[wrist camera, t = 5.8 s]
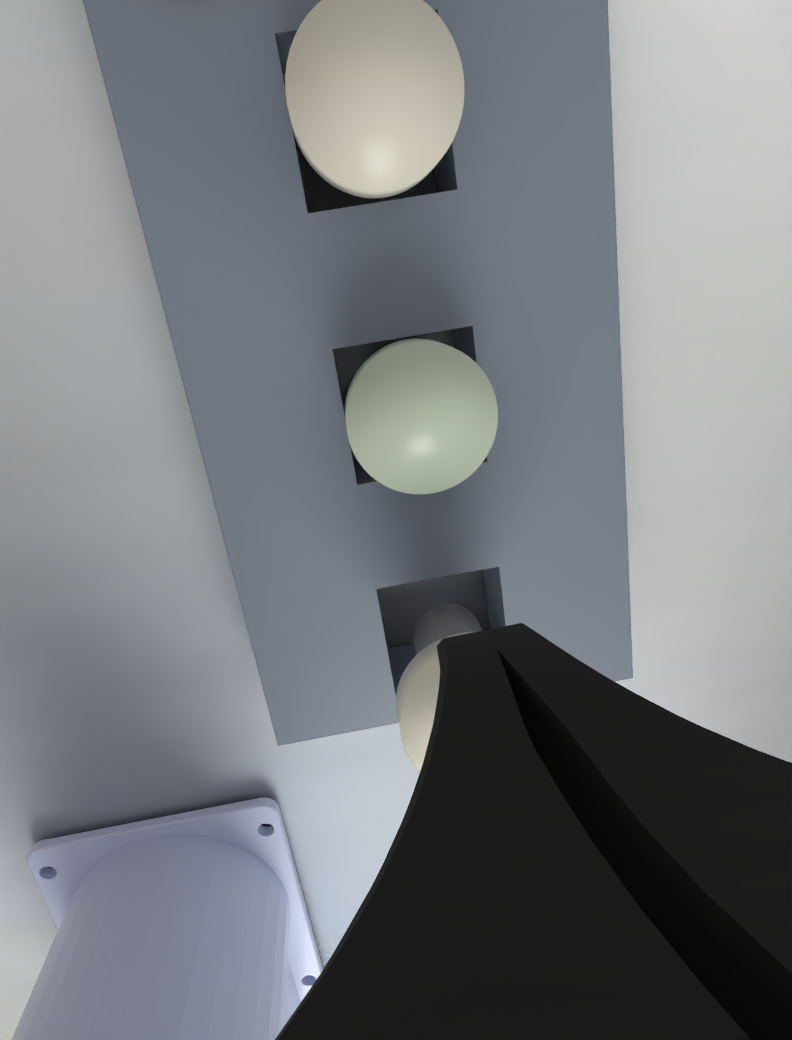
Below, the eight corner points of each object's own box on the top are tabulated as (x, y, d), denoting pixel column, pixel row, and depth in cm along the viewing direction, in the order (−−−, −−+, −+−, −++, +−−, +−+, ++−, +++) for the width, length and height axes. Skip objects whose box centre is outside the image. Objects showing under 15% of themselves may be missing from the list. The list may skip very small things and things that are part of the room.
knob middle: (469, 442, 18) (505, 480, 14) (353, 462, 18) (360, 506, 14) (454, 321, 17) (489, 330, 13) (332, 342, 17) (332, 356, 13)
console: (598, 633, 21) (637, 683, 18) (284, 693, 20) (277, 752, 18) (551, -184, 14) (603, -295, 11) (80, -120, 14) (21, -220, 11)
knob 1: (440, 202, 16) (473, 176, 12) (310, 223, 16) (304, 202, 12) (422, 49, 15) (452, -31, 11) (282, 69, 15) (267, -4, 11)
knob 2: (511, 674, 18) (559, 773, 14) (396, 697, 18) (413, 802, 14) (500, 568, 17) (548, 645, 13) (376, 590, 17) (389, 674, 13)
